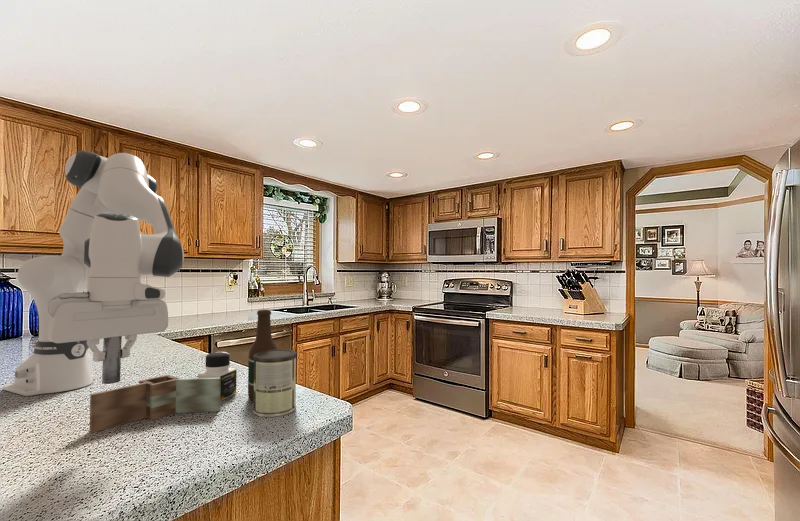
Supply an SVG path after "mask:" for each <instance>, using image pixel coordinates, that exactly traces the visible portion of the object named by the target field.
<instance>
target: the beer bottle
mask: <svg viewBox="0 0 800 521" xmlns="http://www.w3.org/2000/svg"><path fill="white" fill-rule="evenodd" d="M256 315H257V325H256V336H255V340H253V342H252V344H251V345H250V348H249V351H248V366H247V368H248V369H247V370H248V371H247V372H248V374H247V375H248V376H247V396H248V400H249V401H250V402H251V403H254V358H253V356H254V354H255V353H258V352H261V351H266V350H276V349H278V346H277V344H276V342H274V339H273V337H272V325H271V315H272V312H271V310H270V309H259V310H257V312H256Z"/></svg>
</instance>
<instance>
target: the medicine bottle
mask: <svg viewBox="0 0 800 521" xmlns="http://www.w3.org/2000/svg"><path fill="white" fill-rule="evenodd" d="M230 362H231V355H230V353H228V352H226V351H214V352H210V353H208V354H206V356H205V370H204V371H201V372H198V374H197V378H221V397H220V402H222V401H224V400H226V399H228V398H230V397H232V396H235V395H236V394H237V368H234V367H233V368H232V367H230V366H231V364H230Z"/></svg>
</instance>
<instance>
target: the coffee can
mask: <svg viewBox="0 0 800 521" xmlns="http://www.w3.org/2000/svg"><path fill="white" fill-rule="evenodd" d="M297 354H298V353H297V351H295V350H292V349H287V348H286V349H284V348H282V349H280V348H279V349H278V348H277V349H276V350H266V351H261V352H258V353H255V354H254V356H253V358H254V402H253V411H252V412H253V414H254V415H255V416H256V417H261V418H276V417H275V416H277V417H282V416H286V415H289V414H291V413H292V412H294V411H295V410H296V408H297V406H296V400H297V399H296V397H297V396H296V394H297V393H296V392H297V389H296V388H297V386H296V384H297V383H296V382H297V380H296V379H297V378H296V377H297V373H296V372H297Z"/></svg>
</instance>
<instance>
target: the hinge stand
mask: <svg viewBox="0 0 800 521" xmlns="http://www.w3.org/2000/svg"><path fill="white" fill-rule="evenodd" d="M89 397H90V399H89V433H91V434H92V433H93V434H94V433H95V432H99V431H102V430H107V429H110V428H113V427H116V426H120V425H124V424H128V423H131V422H135V421H137V420H141V419H145V418H147V419H149V420H151V421H152V420H157V419H159V418H163V417H166V416H169V415H172V414H177V413H178V414H180V413H183V414H184V413H205V412H207V413H208V412H210V413H211V412H220V411H221V401H220V397H221V378H198V377H195V378H194V377H193V378H192V377H191V378H187V377H186V378H180V377H177V376H173V375H169V374H164V375H160V376H156V377H150V378H145V379H142V380H139V381H138V383H136V384H131V385H128V386H127V385H126V386H122V387H118V388H113V389H109V390H103V391H99V392H95V393H91V394H90V395H89Z"/></svg>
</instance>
